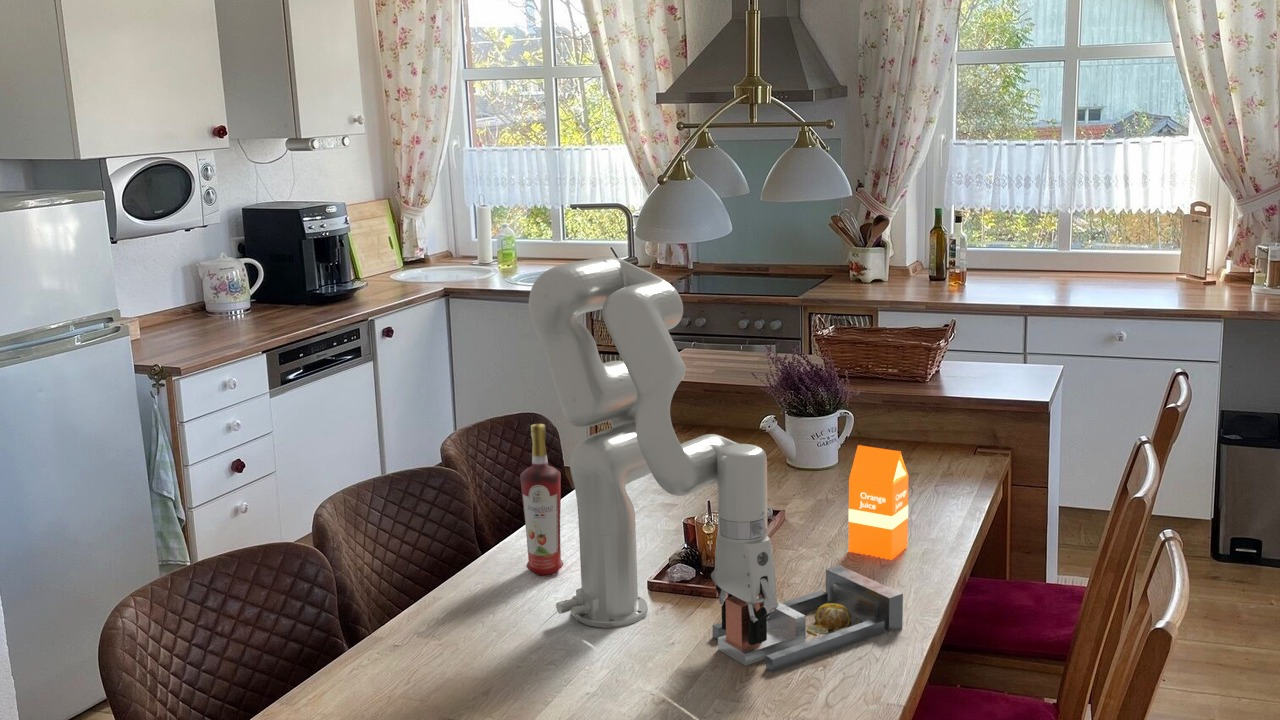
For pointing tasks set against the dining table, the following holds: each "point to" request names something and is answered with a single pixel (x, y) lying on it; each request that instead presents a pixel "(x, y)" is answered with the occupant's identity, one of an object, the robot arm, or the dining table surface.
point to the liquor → (542, 508)
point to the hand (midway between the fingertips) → (744, 633)
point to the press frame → (862, 602)
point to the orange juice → (878, 503)
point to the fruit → (830, 619)
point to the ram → (781, 632)
